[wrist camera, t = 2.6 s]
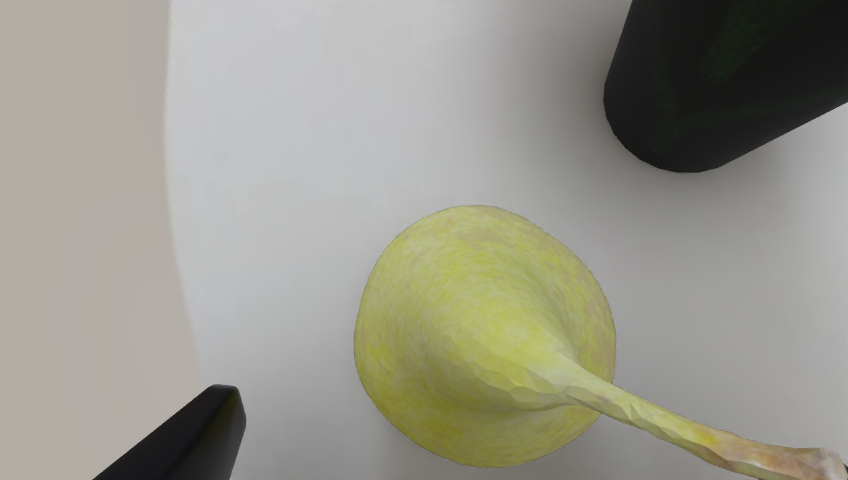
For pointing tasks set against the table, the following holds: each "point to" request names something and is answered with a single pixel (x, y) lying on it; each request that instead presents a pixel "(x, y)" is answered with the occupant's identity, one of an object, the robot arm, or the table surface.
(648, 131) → the cup
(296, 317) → the table surface
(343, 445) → the table surface
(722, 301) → the table surface
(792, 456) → the fruit
